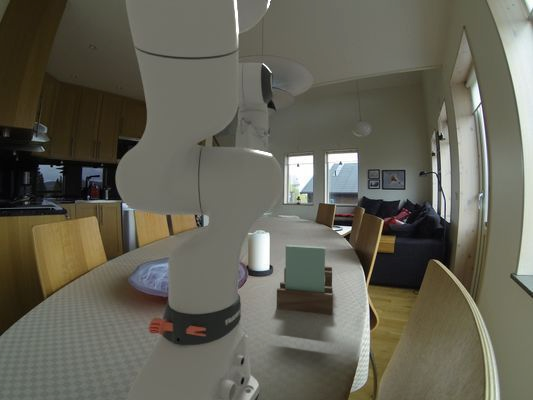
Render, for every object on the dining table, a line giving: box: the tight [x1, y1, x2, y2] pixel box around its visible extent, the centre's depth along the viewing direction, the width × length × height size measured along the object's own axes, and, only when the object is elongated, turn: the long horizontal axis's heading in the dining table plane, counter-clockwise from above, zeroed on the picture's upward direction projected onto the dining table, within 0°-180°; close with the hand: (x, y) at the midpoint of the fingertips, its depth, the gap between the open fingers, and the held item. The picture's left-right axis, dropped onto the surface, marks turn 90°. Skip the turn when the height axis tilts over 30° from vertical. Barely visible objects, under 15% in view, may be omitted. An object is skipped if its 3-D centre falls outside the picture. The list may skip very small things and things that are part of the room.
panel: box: [284, 244, 326, 293], centre depth 67 cm, size 2×10×16 cm, turn 76°
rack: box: [276, 265, 334, 316], centre depth 73 cm, size 17×14×8 cm
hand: (252, 172), depth 75 cm, fingers open, 8 cm apart
